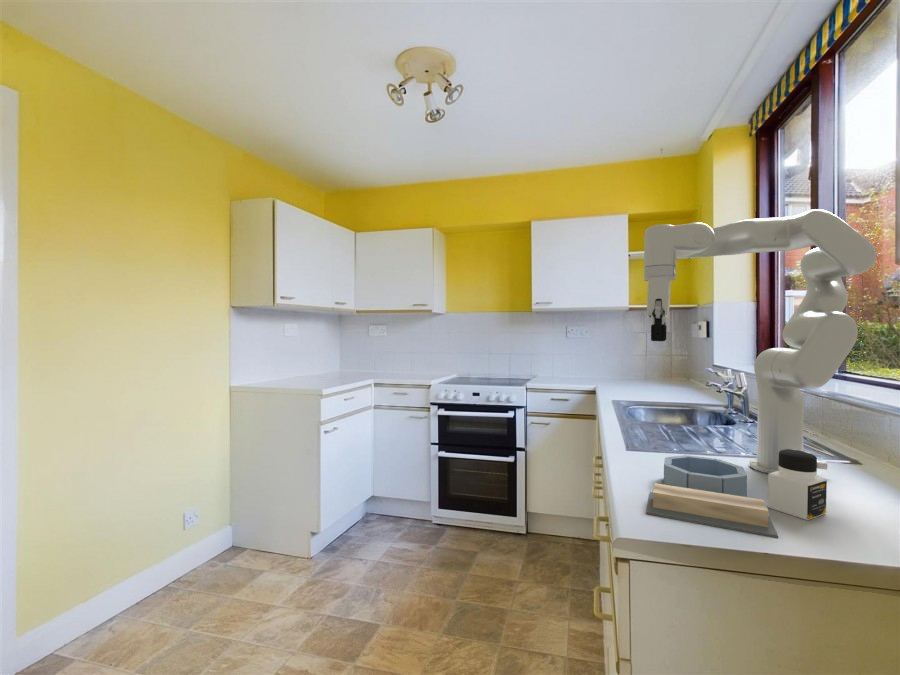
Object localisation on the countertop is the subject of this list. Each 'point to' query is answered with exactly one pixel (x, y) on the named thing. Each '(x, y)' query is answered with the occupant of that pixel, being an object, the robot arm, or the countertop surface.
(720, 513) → the oak board
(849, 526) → the countertop surface
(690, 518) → the rubber mat
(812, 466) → the medicine bottle
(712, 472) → the ceramic bowl
